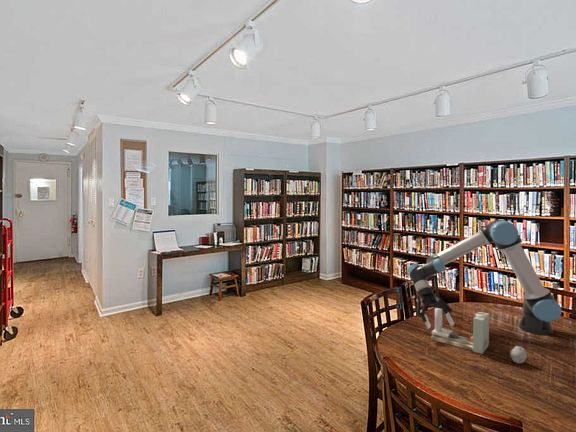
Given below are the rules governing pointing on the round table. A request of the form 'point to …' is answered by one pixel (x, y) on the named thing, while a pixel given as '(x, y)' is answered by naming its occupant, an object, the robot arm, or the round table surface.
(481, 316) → the gauge cabinet
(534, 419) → the round table surface
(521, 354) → the grey round lump
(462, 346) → the rail track
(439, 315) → the carriage
